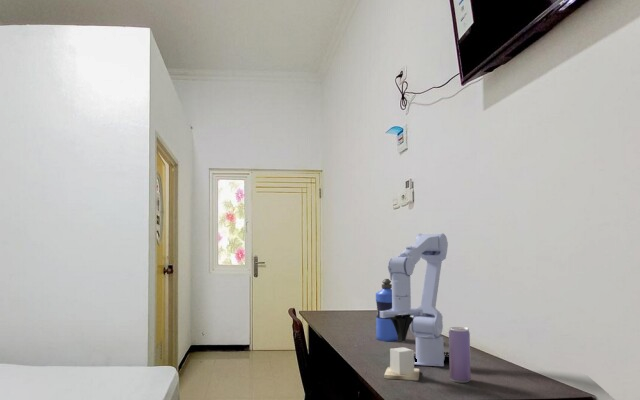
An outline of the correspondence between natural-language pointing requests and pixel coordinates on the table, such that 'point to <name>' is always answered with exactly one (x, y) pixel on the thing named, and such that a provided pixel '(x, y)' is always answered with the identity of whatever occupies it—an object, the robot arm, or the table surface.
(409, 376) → the beige square base
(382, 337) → the water bottle
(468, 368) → the beverage can
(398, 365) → the white rectangular block
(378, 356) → the table surface
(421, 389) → the table surface
